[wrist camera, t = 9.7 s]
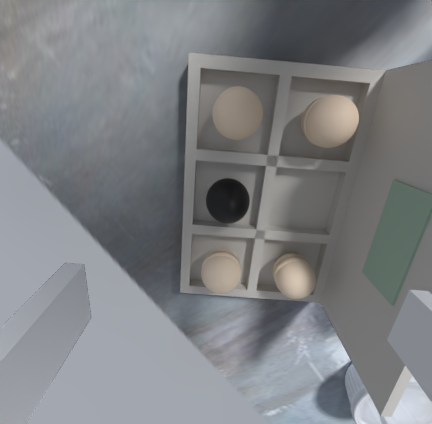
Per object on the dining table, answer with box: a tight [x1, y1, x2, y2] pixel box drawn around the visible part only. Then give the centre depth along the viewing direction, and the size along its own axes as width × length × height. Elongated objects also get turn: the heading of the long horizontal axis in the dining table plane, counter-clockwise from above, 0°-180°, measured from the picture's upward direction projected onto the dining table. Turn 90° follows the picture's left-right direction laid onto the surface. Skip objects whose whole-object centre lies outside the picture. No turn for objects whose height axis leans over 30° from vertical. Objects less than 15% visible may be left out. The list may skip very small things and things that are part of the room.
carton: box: [180, 53, 432, 417], centre depth 21 cm, size 24×17×14 cm
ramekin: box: [345, 363, 432, 424], centre depth 34 cm, size 11×11×5 cm
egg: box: [206, 178, 250, 224], centre depth 24 cm, size 4×4×5 cm
